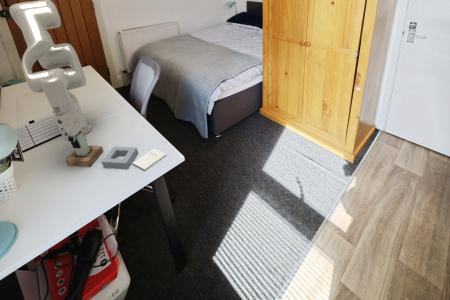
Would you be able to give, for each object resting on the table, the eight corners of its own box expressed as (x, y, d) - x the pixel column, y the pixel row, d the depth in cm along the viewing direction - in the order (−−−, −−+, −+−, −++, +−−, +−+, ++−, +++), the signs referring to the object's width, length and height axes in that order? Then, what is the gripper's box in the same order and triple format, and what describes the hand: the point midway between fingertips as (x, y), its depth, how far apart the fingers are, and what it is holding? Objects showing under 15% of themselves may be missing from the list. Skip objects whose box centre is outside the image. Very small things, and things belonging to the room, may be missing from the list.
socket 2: (103, 167, 119) (101, 161, 117) (115, 151, 127) (113, 146, 126) (127, 168, 117) (125, 163, 115) (138, 152, 126) (136, 147, 124)
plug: (77, 155, 122) (68, 136, 116) (82, 150, 126) (73, 131, 120) (85, 156, 122) (77, 137, 116) (90, 150, 125) (82, 131, 119)
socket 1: (67, 165, 121) (64, 160, 120) (81, 150, 130) (79, 145, 128) (90, 166, 120) (88, 161, 118) (103, 151, 128) (101, 146, 127)
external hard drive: (132, 165, 119) (154, 150, 127) (145, 172, 115) (166, 156, 123) (131, 162, 119) (153, 147, 126) (144, 169, 114) (166, 153, 122)
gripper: (58, 118, 103) (77, 157, 114) (83, 97, 116) (97, 134, 127) (40, 117, 104) (60, 156, 115) (67, 97, 117) (82, 133, 128)
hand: (79, 144), depth 121 cm, fingers closed on plug, 4 cm apart
